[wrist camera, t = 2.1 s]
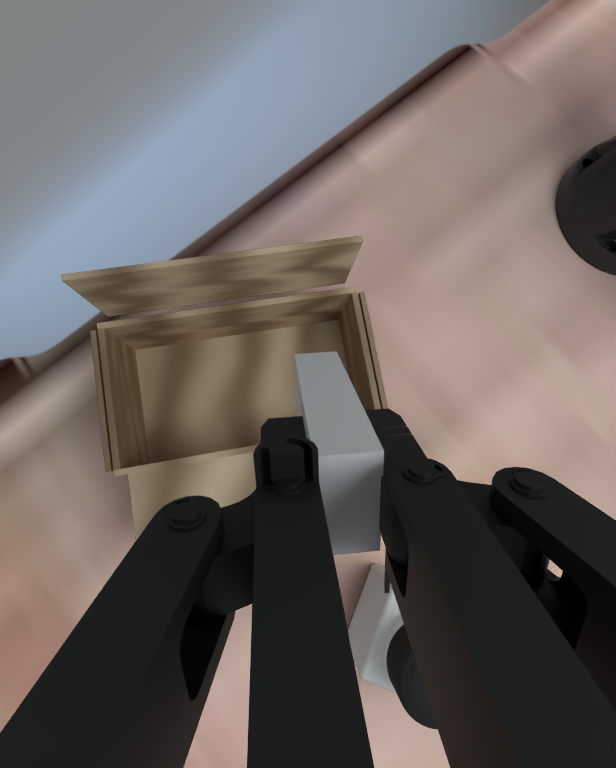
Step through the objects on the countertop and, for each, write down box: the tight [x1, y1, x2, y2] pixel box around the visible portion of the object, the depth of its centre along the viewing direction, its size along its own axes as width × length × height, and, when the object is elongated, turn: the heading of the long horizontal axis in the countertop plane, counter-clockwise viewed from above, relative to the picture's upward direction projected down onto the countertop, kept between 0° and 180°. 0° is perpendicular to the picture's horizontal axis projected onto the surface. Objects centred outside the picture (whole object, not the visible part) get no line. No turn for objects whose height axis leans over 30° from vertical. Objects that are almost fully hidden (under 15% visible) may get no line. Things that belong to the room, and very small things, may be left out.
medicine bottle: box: [348, 564, 438, 729], centre depth 33 cm, size 7×7×12 cm
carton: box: [90, 287, 388, 540], centre depth 37 cm, size 22×19×8 cm
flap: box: [62, 236, 363, 316], centre depth 30 cm, size 19×1×7 cm, turn 100°
